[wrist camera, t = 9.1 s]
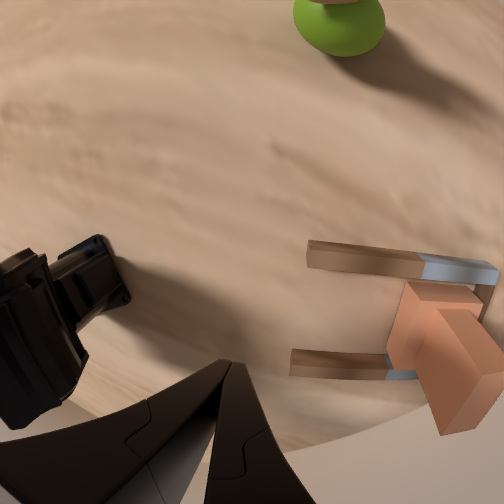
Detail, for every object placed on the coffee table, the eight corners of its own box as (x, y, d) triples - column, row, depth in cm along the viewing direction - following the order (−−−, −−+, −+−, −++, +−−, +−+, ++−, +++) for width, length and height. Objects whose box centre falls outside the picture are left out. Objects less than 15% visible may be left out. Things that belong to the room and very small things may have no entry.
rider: (385, 346, 21) (416, 443, 11) (406, 281, 19) (465, 370, 9) (442, 347, 20) (486, 429, 11) (466, 286, 18) (533, 359, 9)
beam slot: (290, 359, 23) (289, 375, 21) (308, 239, 19) (309, 249, 17) (447, 363, 21) (455, 376, 19) (487, 261, 17) (500, 271, 15)
